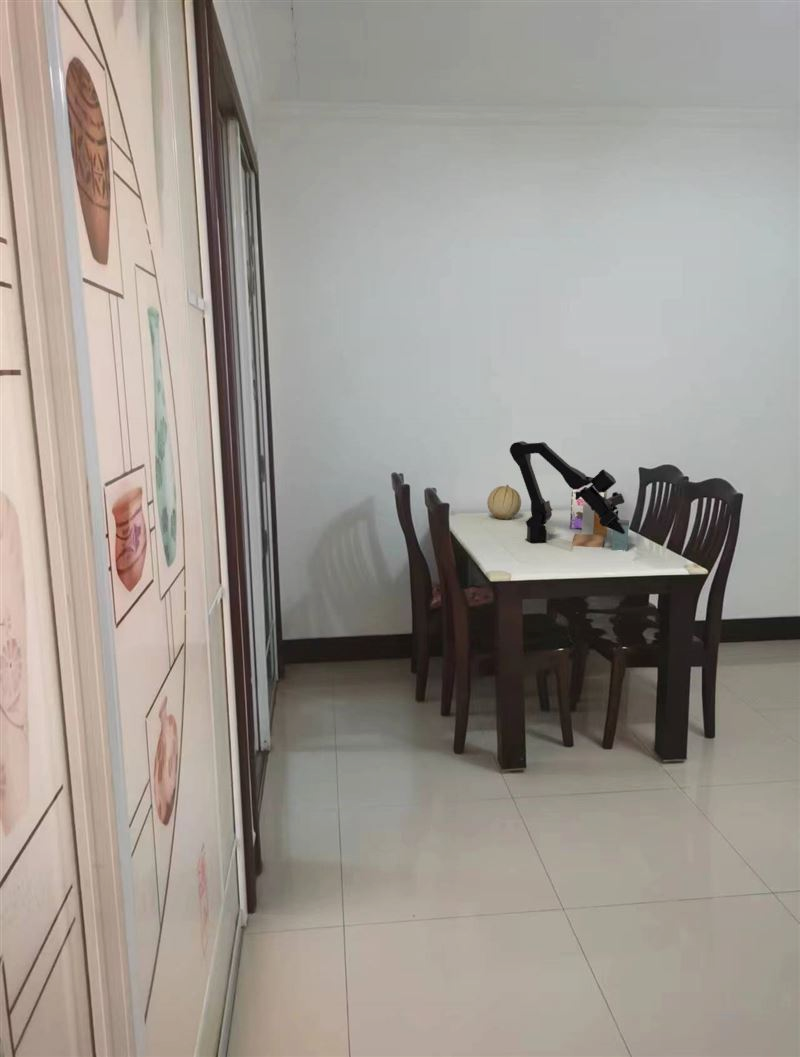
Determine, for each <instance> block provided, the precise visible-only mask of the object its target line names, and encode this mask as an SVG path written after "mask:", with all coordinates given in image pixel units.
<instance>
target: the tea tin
mask: <svg viewBox="0 0 800 1057" xmlns="http://www.w3.org/2000/svg"><path fill="white" fill-rule="evenodd" d="M618 522H619V523H620V525H621V526H622V528H623V529H624V531H625V533H624V534H621V533H619V532H617V531H615V530H613V529H612V532H611V533H612V534H611V536H612V538H611V551H617V550H623V551H622V552H628V541H629V526H630V520H629V519H620V520H618ZM624 550H625V551H624Z"/></svg>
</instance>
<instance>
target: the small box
mask: <svg viewBox="0 0 800 1057" xmlns="http://www.w3.org/2000/svg"><path fill="white" fill-rule="evenodd" d="M581 534H590V535H604V537H607V536H608V527H605V526H604V527H603V526H602V525H601V524H600V518H599V516H598V515H597V514H596V513H595V511H594V510H593V511H592V510H591V507H590V506H589V505H588V504H587V503H586V504H583V518H582V529H581Z"/></svg>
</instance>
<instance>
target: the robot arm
mask: <svg viewBox="0 0 800 1057" xmlns="http://www.w3.org/2000/svg"><path fill="white" fill-rule="evenodd" d="M509 453H510V455H511V457H512V459H513V461H514V462H515V463H516V464H517V465H518V467H519V470H520V474H521V476H522V479H523V482H524V486H525V488H526V491H527V494H528V496H529V500H530V512H531V516H530V517H529V518H528V519H527V520H526V521H525V524H526V527H527V528H526V538H525V539H524V540H525V541H527V542H529V543H530V544H539V543H540V544H541V543H542V544H543V543H548V542H547V532H548V531H547V529H546V524H547V523H548V521H549V520H550V519H551V518H552V516H553V514H552V511H553V508H552V507H551V502H550V500H547V501H546V500H545V498H543V495H542V493H541V490H540V487H539V483H538V481H537V478H536V475H535V472H534V468H533V466H532V463H531V462H532V460H531V458H532V457H531V456H532V454H538V455H540V456H541V457H542V458H543V459H544V460H545V461H546V462H548V463H549V464H550V465H551V466H552V467H553V468H554V469H555V470H556V471H557V472H558V473H559V474H560V475H561V476H562V478H563V480H564V481H565V483H566V484H567V485H568V486H569V488H570V489H572V490H573V489H582V490H581V491H580V492H578V491H577V492H576V493H575V494H576V498H575V499H576V500H578V499H579V498H580V497H581V498H582V499H583V500H584V501H585V502H586V503H587V504H588V505H589V506H590V507H591V510H592V511H593V510H594V511H595V513H596V514H597V515H598V516H599V518H600V524H601V525H602V526H603V527H604V526H605V527H607V529H611V530H612V531H613V530H615V531H617V532H619V533H621V534H624V533H625V531H624V529H623V528H622V526H621V525H620V523H619V522H618V520H621V519H620V517H619V509H618V508H619V507H618V505H622V504H624V503H625V498H624V496H623V494H622V493H620V492H617V491H614V492H612V495H611V496H609V497H607V499H606V498H605V497H602V496H601V495H600V494H599V493H598V492H603V493H604V492H606V491H607V492H608V490H609V489H611V487H613V486H614V485H615V484H616V483H617V480H616V479H615V477H614V476H613V475H612V474H610V473H609V472H608V471H606V470H605V469H604V468H603V469H601V470H600V471H599V472H598V474H596V475H595V476H593V477H591V476H587V475H586V474H585V473H584V472H582V471H580V470H578V469H577V468H575V467H573V466H572V465H570V464H569V463H567V462H566V461H565V460H564V459H563V458H562V457H561V456H559V454H557V452H555V451H554V450H553V449H552V448H550V446H549V445H548V444H547V443H546V442H542V441H541V442H532V443H531V442H527V441H523V440H522V441H517V442H513V443H512V444H511V445H510V447H509ZM588 485H590V486H588ZM586 486H588V487H586ZM596 490H597V491H598V492H597V491H596Z"/></svg>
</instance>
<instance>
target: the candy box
mask: <svg viewBox="0 0 800 1057" xmlns="http://www.w3.org/2000/svg"><path fill="white" fill-rule="evenodd" d="M582 489H583V488H579V489H572V490H571V503H570V520H569V522H570V523H569V524H570V525H569V529H573V530H582V518H583V504H586V502H585V501H584V500H583V499H582V498H581V497H580V498H579V499H578V500H576V499H575V498H576V494H575V493H576V492H577V491H578V492H580V491H581V490H582ZM596 491H597V490H596ZM597 492H598V491H597ZM598 493H599V494H600V495H601V496H602V497H605V498H606V499H608V490H607V491H606V492H604V493H603V492H598Z"/></svg>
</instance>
